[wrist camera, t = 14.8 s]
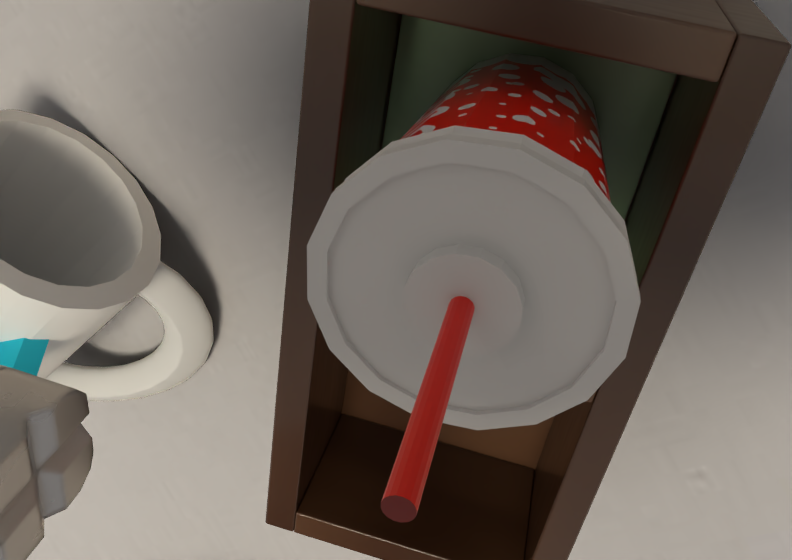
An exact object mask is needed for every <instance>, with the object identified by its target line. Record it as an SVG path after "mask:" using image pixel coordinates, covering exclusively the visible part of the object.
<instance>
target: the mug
mask: <svg viewBox="0 0 792 560" xmlns="http://www.w3.org/2000/svg"><path fill="white" fill-rule="evenodd" d="M160 251H161V233H160V230H159V227H158V223H157V220H156V217H155V213H154V210H153V207H152V205H151V204H150V202H149V200H148V199H147V197H146V195H145V194H144V192H143V190H142V189H141V187H140V185H139V184H138V182H137V180H136V179H135V178H134V177H133V176H132V175H131V174H130V173H129V172H128V171H127V170H126V169H125V168H124V166H123V165H122V164H121V163H120V162H119V161H118V160H117V159H116V158H115V157H114V156H113V155H112V154H111V153H109V152H108V151H107V150H105V149H104V148H102V147H101V146H100V145H98V144H97V143H96V142H94V141H93V140H92V139H90V138H89V137H87V136H86V135H85V134H83V133H81V132H79V131H77V130H75V129H73V128H70V127H68V126H66V125H64V124H62V123H60V122H58V121H56V120H54V119H52V118H48V117H44V116H40V115H36V114H32V113H28V112H24V111H20V110H0V365H3V366H6V367H11V368H14V369H17V370H20V371H23V372H26V373H29V374H32V375H35V376H38V377H41V378H44V379H47V380H50V381H53V382H56V383H59V384H62V385H65V386H68V387H71V388H74V389H77V390H80V391H82V392H84V393H86V395H87V401H120V400H129V399H138V398H143V397H147V396H150V395H154V394H157V393H161V392H164V391H167V390H170V389H171V388H173V387H175V386H177V385H179V384H180V383H182V382H184V381H186V380H188V379H189V378H191V377H192V376H193V375H194V374H195V373H196V372H197V371H198V369H199V368H200V367H201V366H202V365H203V364H204V363H205V362H206V360H207V358H208V355H209V353H210V350H211V348H212V345H213V342H214V337H213V323H212V318H211V316H210V314H209V312H208V310H207V308H206V305H205V303H204V301H203V299H202V297H201V296H200V295H199V294H198V293H197V292H196V291H195V289H194V288H193V287H192V286H191V285H190V284H189V283H188V282H187V281H186V280H185V279H184V278H183V277H182V276H181V275H180V274H179V273H178V272H176V271H175V270H173V269H172V268H170V267H169V266H167V265H166V264H164V263H163V262H161V261H160ZM137 295H139V296H141V297H142V298H144V299H145V300H146V301H147V302H148V303H149V304H150V305H151V306H152V307H154V308H155V309H156V310H157V312H158V314H159V316H160V317H161V319H162V321H163V325H164V331H165V333H164V337H163V340H162V343H161V344H160V345H159V347H158V348H157V349H156V350H155V351H154V352H153V353H152V354H150V355H148V356H146V357H145V358H143V359H141V360H138V361H135V362H132V363H129V364H125V365H118V366H109V367H95V366H81V365H75V364H70V363H64V361H65V360H67V359H68V358H69V357H70V356H71V355H72V354H73V353H74V352H75V351H76V350H78V349H79V348H80V347H81V346H82V345H83V344H84V343H85V342H86V341H87V340H88V339H90V338H91V337H92V336H93V335H94V334H95V333H96V332H97V331H98V330H99V329H101V328H102V327H103V326H104V325H105V324H106V323H107V322H108V321H109V320H110V319H112V318H113V317H114V316H115V315H116V314H117V313H118V312H119V311H120V310H121V309H123V308H124V307H125V306H126V305H127V304H128V303H129V302H130V301H131V300H132V299H134V298H135V297H136V296H137Z"/></svg>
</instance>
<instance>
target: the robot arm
mask: <svg viewBox="0 0 792 560" xmlns="http://www.w3.org/2000/svg"><path fill="white" fill-rule="evenodd" d="M88 414H89V407H88V401H87V395H86V393H84V392H82V391H80V390H77V389H74V388H71V387H68V386H65V385H62V384H59V383H56V382H53V381H50V380H47V379H44V378H41V377H38V376H35V375H32V374H29V373H26V372H23V371H20V370H17V369H14V368H11V367H6V366H3V365H0V560H26V559H27V557H28V556H29V555H30V554H31V552H32V551H33V550H34V549H35V547H36V546H37V545H38V544H39V543H40V541H41V540H42V539H43V538H44V519H45V518H47V517H49V516H52V515H54V514H56V513H58V512H60V511H63V510H65V509H67V507H68V506H69V505H70V504H71V502H72V501H73V500H74V498H75V497H76V496H77V494H78V493H79V492H80V490H81V488H82V486H83V484H84V482H85V480H86V477H87V475H88V473H89V471H90V469H91V463H92V457H93V443H92V437H91V436H90V435H89V433H88V432H87V431H86V429H85V428H84V427H83V426H82V424H81V422H82V421H83V420H84V418H85V417H86V416H87V415H88Z"/></svg>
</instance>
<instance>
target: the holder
mask: <svg viewBox="0 0 792 560" xmlns="http://www.w3.org/2000/svg"><path fill="white" fill-rule="evenodd" d="M790 49H791V44H790V43H789V42H788V41H787V39H786V38H785V37H784V36H783V35H782V34H781V33H780V32H779V30H778V29H777V28H776V27H775V26H774V25H773V24H772V23H771V21H770V20H769V19H768V18H767V17H766V16H765V15H764V13H763V12H762V11H761V10H760V9H759V8H758V7H757V6H756V4H755V3H754V2H753V1H752V0H310V4H309V16H308V28H307V40H306V51H305V63H304V75H303V87H302V99H301V111H300V122H299V134H298V146H297V158H296V170H295V181H294V193H293V205H292V217H291V229H290V240H289V252H288V264H287V276H286V288H285V300H284V311H283V323H282V335H281V347H280V359H279V370H278V382H277V394H276V406H275V418H274V429H273V441H272V453H271V465H270V477H269V489H268V500H267V512H266V523H267V524H270V525H273V526H277V527H280V528H283V529H286V530H289V531H293V530H294V532H296V533H299V534H302V535H306V536H309V537H312V538H315V539H318V540H322V541H325V542H328V543H331V544H334V545H338V546H341V547H344V548H347V549H350V550H354V551H357V552H360V553H363V554H366V555H370V556H373V557H376V558H379V559H382V560H567V559H568V557H569V555H570V552H571V550H572V548H573V546H574V543H575V541H576V539H577V536H578V534H579V532H580V530H581V527H582V525H583V523H584V520H585V518H586V516H587V514H588V511H589V509H590V507H591V504H592V502H593V500H594V497H595V495H596V493H597V491H598V488H599V486H600V484H601V481H602V479H603V477H604V475H605V472H606V470H607V468H608V465H609V463H610V461H611V459H612V456H613V454H614V452H615V449H616V447H617V445H618V442H619V440H620V438H621V436H622V433H623V431H624V429H625V426H626V424H627V422H628V420H629V417H630V415H631V413H632V410H633V408H634V406H635V404H636V401H637V399H638V397H639V394H640V392H641V390H642V388H643V385H644V383H645V381H646V378H647V376H648V374H649V371H650V369H651V367H652V365H653V362H654V360H655V358H656V355H657V353H658V351H659V349H660V346H661V344H662V342H663V339H664V337H665V335H666V333H667V330H668V328H669V326H670V323H671V321H672V319H673V317H674V314H675V312H676V310H677V307H678V305H679V303H680V300H681V298H682V296H683V294H684V291H685V289H686V287H687V284H688V282H689V280H690V278H691V275H692V273H693V271H694V268H695V266H696V264H697V262H698V259H699V257H700V255H701V252H702V250H703V248H704V246H705V243H706V241H707V239H708V236H709V234H710V232H711V229H712V227H713V225H714V223H715V220H716V218H717V216H718V213H719V211H720V209H721V207H722V204H723V202H724V200H725V197H726V195H727V193H728V191H729V188H730V186H731V184H732V181H733V179H734V177H735V175H736V172H737V170H738V168H739V165H740V163H741V161H742V158H743V156H744V154H745V152H746V149H747V147H748V145H749V142H750V140H751V138H752V136H753V133H754V131H755V129H756V126H757V124H758V122H759V120H760V117H761V115H762V113H763V110H764V108H765V106H766V103H767V101H768V99H769V97H770V94H771V92H772V90H773V87H774V85H775V83H776V81H777V78H778V76H779V74H780V71H781V69H782V67H783V65H784V62H785V60H786V58H787V55H788V53H789V51H790ZM507 54H518V55H527V56H535V57H544V58H545V59H547V60H549V61H551V62H552V63H554V64H556V65H558V66H559V67H561V68H563V69H565V70H567V71H568V72H570V73H572V74H573V75H574V76H575V78H576V79H577V80H578V82H579V83H580V84H581V86H582V87H583V88H584V90H585V91H586V92H587V94H588V95H589V96H590V98H591V99H592V101H593V105H594V110H595V114H596V119H597V123H598V128H599V133H600V139H601V145H602V151H603V157H604V163H605V170H606V176H607V182H608V188H609V194H610V201H611V204H612V205H613V206H614V208H615V209H616V210H617V212H618V213H619V214H620V216H621V217H622V218H623V219H624V221H625V225H626V230H627V234H628V239H629V243H630V248H631V253H632V257H633V262H634V266H635V271H636V276H637V282H638V287H639V291H640V300H641V303H640V306H639V310H638V314H637V317H636V321H635V325H634V328H633V332H632V336H631V339H630V343H629V347H628V350H627V354H626V358H625V359H624V360H623V361H622V362H621V363H620V365H619V366H618V367H617V368H616V369H615V370H614V371H613V372H612V374H611V375H610V376H609V377H608V378H607V379H606V380H605V381H604V383H603V384H602V385H601V386H600V387H599V388H598V389H597V390H596V392H595V393H594V394H593V395H592V396H591V397H590V398H589V399H588V400H587V401H585V402H583V403H581V404H578V405H576V406H574V407H572V408H570V409H568V410H566V411H564V412H561V413H559V414H557V415H555V416H553V417H551V418H549V419H547V420H545V421H542V422H540V423H538V424H536V425H526V426H516V427H506V428H496V429H486V430H474V429H469V428H464V427H459V426H454V425H450V424H445V423H442V427H441V430H440V434H439V437H438V441H437V445H436V448H435V452H434V455H433V459H432V462H431V466H430V469H429V473H428V476H427V480H426V483H425V487H424V491H423V494H422V498H421V501H420V505H419V508H418V512H417V515H416V517H415V518H414V519H413V520H412V521H409V522H397V521H393V520H392V519H390V518H388V517H387V516H386V515H385V514H384V513H383V512H382V509H381V501H382V498H383V495H384V492H385V489H386V486H387V483H388V480H389V477H390V474H391V472H392V469H393V466H394V463H395V460H396V457H397V454H398V451H399V448H400V445H401V442H402V439H403V436H404V433H405V431H406V428H407V425H408V422H409V419H410V416H411V413H409V412H407V411H405V410H404V409H402V408H400V407H398V406H396V405H394V404H393V403H391V402H389V401H387V400H385V399H383V398H382V397H380V396H378V395H376V394H374V393H372V392H371V391H369V390H368V389H367V388H366V387H365V386H364V385H363V384H362V383H361V382H360V381H359V380H358V379H357V378H356V377H355V376H354V375H353V374H352V372H351V371H350V370H349V369H348V368H347V367H346V366H345V365H344V364H343V363H342V362H341V361H340V360H339V359H338V358H337V357H336V356H335V355H334V354H333V353H332V352H331V351H330V349H329V347H328V345H327V343H326V340H325V338H324V336H323V334H322V331H321V329H320V327H319V324H318V322H317V320H316V318H315V315H314V313H313V311H312V309H311V306H310V304H309V302H308V299H307V244H308V242H309V240H310V238H311V236H312V233H313V231H314V229H315V227H316V225H317V223H318V221H319V219H320V217H321V215H322V212H323V210H324V208H325V206H326V204H327V202H328V200H329V198H330V196H331V194H332V193H333V191H334V190H335V189H336V188H337V187H338V186H339V185H341V184H342V183H343V182H344V181H345V179H346V178H347V177H348V176H349V175H350V174H352V173H353V172H354V171H356V170H357V169H358V168H359V167H361V166H362V165H363V164H364V163H366V162H367V161H368V160H369V159H371V158H372V157H373V156H374V155H376V154H377V153H378V152H379V151H381V150H382V149H383V148H384V147H386V146H387V145H388V144H389V143H391V142H392V141H396V140H400V139H401V138H402V137H403V136H404V135H405V134H406V132H407V131H408V130H409V129H410V128H411V127H412V126H413V125H414V124H415V123H416V122H417V121H418V120H419V119H420V118H421V116H422V115H423V114H424V113H425V112H426V111H427V110H428V109H429V108H430V107H431V106H432V105H433V104H434V103H435V101H436V100H437V99H438V98H439V97H440V96H441V95H442V94H443V93H444V92H445V91H446V90H447V89H448V88H449V87H450V85H451V84H452V83H453V82H455V81H456V80H457V79H458V78H460V77H461V76H462V75H463V74H465V73H466V72H467V71H468V70H470V69H471V68H472V67H473V66H475V65H476V64H477V63H479V62H482V61H486V60H489V59H493V58H496V57H500V56H503V55H507Z"/></svg>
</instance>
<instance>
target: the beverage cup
mask: <svg viewBox="0 0 792 560" xmlns="http://www.w3.org/2000/svg"><path fill="white" fill-rule="evenodd" d="M307 299H308V302H309V304H310V306H311V309H312V311H313V313H314V315H315V318H316V320H317V322H318V324H319V327H320V329H321V331H322V334H323V336H324V338H325V340H326V343H327V345H328V347H329V349H330V351H331V352H332V353H333V354H334V355H335V356H336V357H337V358H338V359H339V360H340V361H341V362H342V363H343V364H344V365H345V366H346V367H347V368H348V369H349V370H350V371H351V372H352V374H353V375H354V376H355V377H356V378H357V379H358V380H359V381H360V382H361V383H362V384H363V385H364V386H365V387H366V388H367V389H368V390H369V391H371V392H372V393H374V394H376V395H378V396H380V397H382V398H383V399H385V400H387V401H389V402H391V403H393V404H394V405H396V406H398V407H400V408H402V409H404V410H405V411H407V412H409V413H411V416H410V419H409V422H408V425H407V428H406V431H405V433H404V436H403V439H402V442H401V445H400V448H399V451H398V454H397V457H396V460H395V463H394V466H393V469H392V472H391V474H390V477H389V480H388V483H387V486H386V489H385V492H384V495H383V498H382V501H381V509H382V512H383V513H384V514H385V515H386V516H387V517H388V518H390V519H392V520H393V521H397V522H409V521H412V520H413V519H414V518H415V517H416V515H417V512H418V508H419V505H420V501H421V498H422V494H423V491H424V487H425V483H426V480H427V476H428V473H429V469H430V466H431V462H432V459H433V455H434V452H435V448H436V445H437V441H438V437H439V434H440V430H441V427H442V423H445V424H450V425H454V426H459V427H464V428H469V429H474V430H486V429H496V428H506V427H516V426H526V425H536V424H538V423H540V422H542V421H545V420H547V419H549V418H551V417H553V416H555V415H557V414H559V413H561V412H564V411H566V410H568V409H570V408H572V407H574V406H576V405H578V404H581V403H583V402H585V401H587V400H588V399H589V398H590V397H591V396H592V395H593V394H594V393H595V392H596V390H597V389H598V388H599V387H600V386H601V385H602V384H603V383H604V381H605V380H606V379H607V378H608V377H609V376H610V375H611V374H612V372H613V371H614V370H615V369H616V368H617V367H618V366H619V365H620V363H621V362H622V361H623V360H624V359H625V358H626V354H627V350H628V347H629V343H630V339H631V336H632V332H633V328H634V325H635V321H636V317H637V314H638V310H639V306H640V303H641V300H640V291H639V287H638V282H637V276H636V271H635V266H634V262H633V257H632V253H631V248H630V243H629V239H628V234H627V230H626V225H625V221H624V219H623V218H622V217H621V216H620V214H619V213H618V212H617V210H616V209H615V208H614V206H613V205H612V204H611V201H610V194H609V188H608V182H607V176H606V170H605V163H604V157H603V151H602V145H601V139H600V133H599V128H598V123H597V119H596V114H595V110H594V105H593V101H592V99H591V98H590V96H589V95H588V94H587V92H586V91H585V90H584V88H583V87H582V86H581V84H580V83H579V82H578V80H577V79H576V78H575V76H574V75H573V74H572V73H570V72H568V71H567V70H565V69H563V68H561V67H559V66H558V65H556V64H554V63H552V62H551V61H549V60H547V59H545V58H544V57H535V56H527V55H518V54H507V55H503V56H500V57H496V58H493V59H489V60H486V61H482V62H479V63H477V64H476V65H475V66H473V67H472V68H471V69H470V70H468V71H467V72H466V73H465V74H463V75H462V76H461V77H460V78H458V79H457V80H456V81H455V82H453V83H452V84H451V85H450V87H449V88H448V89H447V90H446V91H445V92H444V93H443V94H442V95H441V96H440V97H439V98H438V99H437V100H436V101H435V103H434V104H433V105H432V106H431V107H430V108H429V109H428V110H427V111H426V112H425V113H424V114H423V115H422V116H421V118H420V119H419V120H418V121H417V122H416V123H415V124H414V125H413V126H412V127H411V128H410V129H409V130H408V131H407V132H406V134H405V135H404V136H403V137H402V138H401V139H400V140H396V141H392V142H391V143H389V144H388V145H387V146H386V147H384V148H383V149H382V150H381V151H379V152H378V153H377V154H376V155H374V156H373V157H372V158H371V159H369V160H368V161H367V162H366V163H364V164H363V165H362V166H361V167H359V168H358V169H357V170H356V171H354V172H353V173H352V174H350V175H349V176H348V177H347V178H346V179H345V181H344V182H343V183H342V184H341V185H339V186H338V187H337V188H336V189H335V190H334V191H333V193H332V194H331V196H330V198H329V200H328V202H327V204H326V206H325V208H324V210H323V212H322V215H321V217H320V219H319V221H318V223H317V225H316V227H315V229H314V231H313V233H312V236H311V238H310V240H309V242H308V244H307Z"/></svg>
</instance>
